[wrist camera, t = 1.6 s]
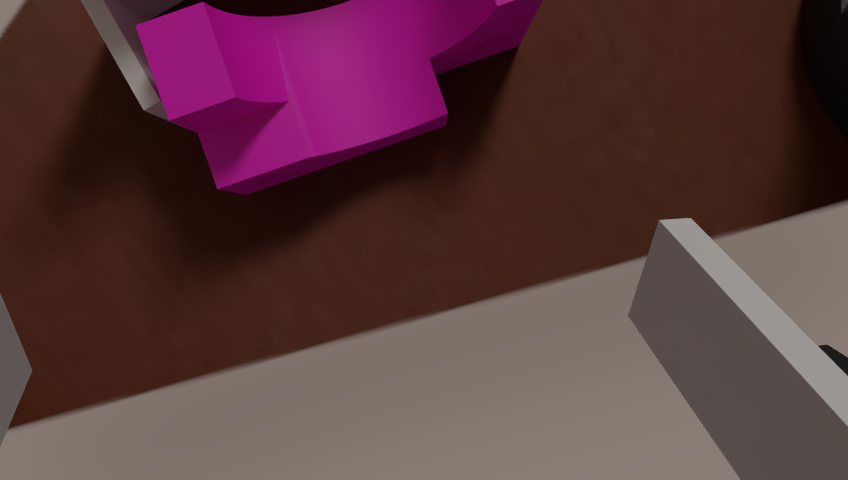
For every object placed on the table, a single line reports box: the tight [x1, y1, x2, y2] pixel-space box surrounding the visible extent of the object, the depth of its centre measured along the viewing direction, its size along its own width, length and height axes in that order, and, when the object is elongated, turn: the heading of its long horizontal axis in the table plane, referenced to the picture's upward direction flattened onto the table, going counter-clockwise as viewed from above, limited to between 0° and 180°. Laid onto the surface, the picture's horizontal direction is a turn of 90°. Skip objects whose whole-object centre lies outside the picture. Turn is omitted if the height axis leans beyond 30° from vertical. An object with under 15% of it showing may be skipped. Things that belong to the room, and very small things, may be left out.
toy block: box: [135, 0, 542, 195], centre depth 27 cm, size 15×6×8 cm, turn 109°
